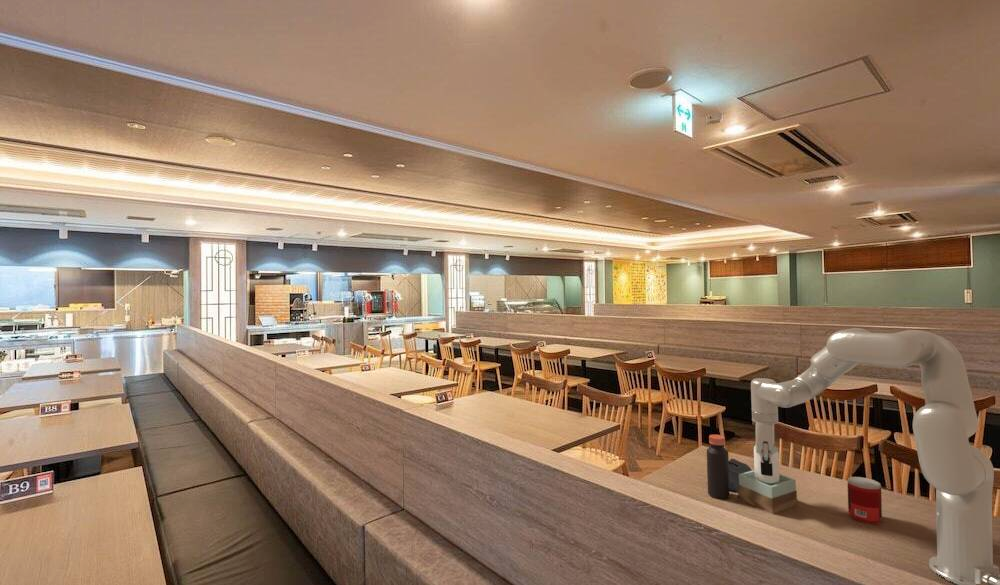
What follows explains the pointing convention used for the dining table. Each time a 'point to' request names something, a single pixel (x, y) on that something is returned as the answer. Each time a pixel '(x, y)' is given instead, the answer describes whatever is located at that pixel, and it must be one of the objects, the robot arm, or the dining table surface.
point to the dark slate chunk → (736, 473)
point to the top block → (767, 485)
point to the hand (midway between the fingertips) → (766, 470)
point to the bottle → (718, 468)
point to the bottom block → (767, 500)
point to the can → (775, 467)
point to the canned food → (864, 500)
